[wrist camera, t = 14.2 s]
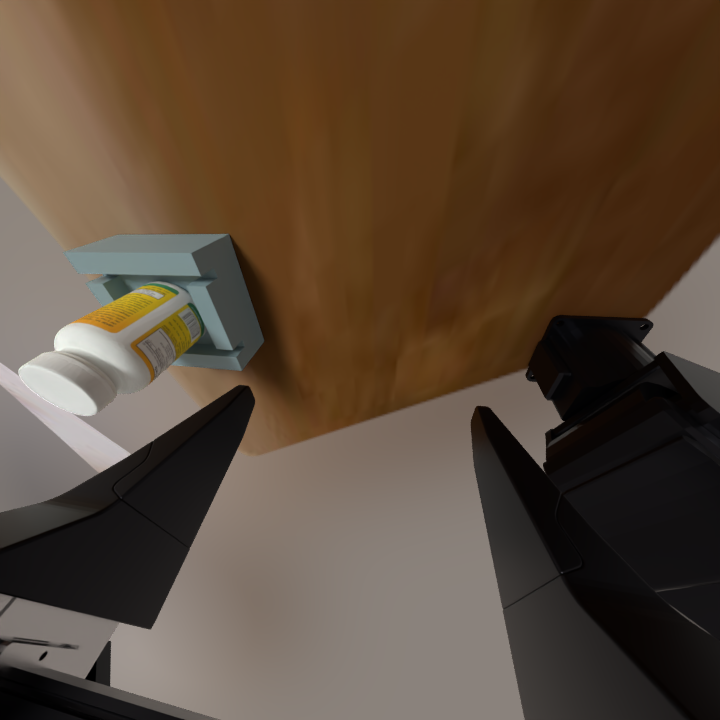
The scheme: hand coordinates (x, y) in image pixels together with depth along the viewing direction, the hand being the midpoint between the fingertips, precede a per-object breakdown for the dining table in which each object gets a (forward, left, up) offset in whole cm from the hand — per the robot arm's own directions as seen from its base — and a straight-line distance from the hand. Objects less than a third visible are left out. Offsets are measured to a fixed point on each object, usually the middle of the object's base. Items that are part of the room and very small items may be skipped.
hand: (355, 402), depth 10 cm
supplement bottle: (+17, +2, -10) cm, 20 cm away
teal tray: (+17, +2, -13) cm, 21 cm away
